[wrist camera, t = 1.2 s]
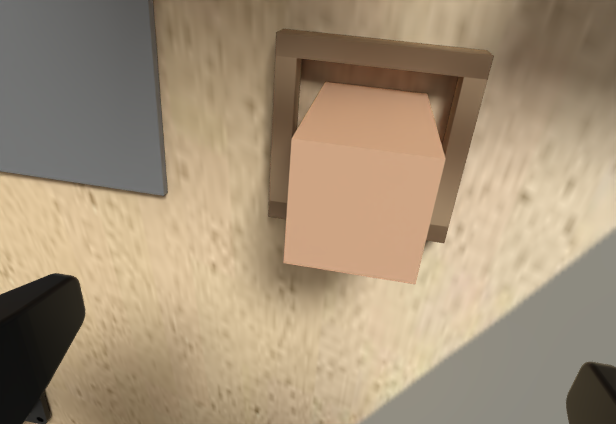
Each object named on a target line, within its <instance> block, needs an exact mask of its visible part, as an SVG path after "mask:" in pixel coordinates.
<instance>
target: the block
mask: <svg viewBox="0 0 616 424" xmlns="http://www.w3.org/2000/svg"><path fill="white" fill-rule="evenodd" d="M445 160H446V159H445V155H444V151H443V148H442V144H441V141H440V137H439V134H438V130H437V127H436V123H435V120H434V116H433V112H432V109H431V105H430V102H429V98H428V95H427V94H426V93H418V92H409V91H401V90H392V89H384V88H375V87H367V86H358V85H350V84H342V83H333V82H325V83H324V85H323V87H322V88H321V90H320V92H319V93H318V95H317V97H316V98H315V100H314V102H313V103H312V105H311V107H310V108H309V110H308V112H307V114H306V115H305V117H304V119H303V120H302V122H301V124H300V125H299V127H298V129H297V130H296V132H295V134H294V135H293V137H292V140H291V155H290V171H289V186H288V201H287V216H286V232H285V247H284V262H283V263H286V264H293V265H299V266H305V267H311V268H317V269H324V270H330V271H336V272H342V273H348V274H355V275H361V276H367V277H373V278H379V279H385V280H392V281H398V282H404V283H410V284H416V280H417V275H418V271H419V267H420V263H421V259H422V255H423V251H424V246H425V242H426V238H427V234H428V230H429V226H430V222H431V217H432V213H433V209H434V205H435V201H436V197H437V193H438V189H439V184H440V180H441V176H442V172H443V168H444V164H445Z"/></svg>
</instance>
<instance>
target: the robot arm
mask: <svg viewBox="0 0 616 424" xmlns="http://www.w3.org/2000/svg"><path fill="white" fill-rule="evenodd" d="M84 318H85V306H84V301H83V296H82V292H81V287H80V283H79V281H78V279H77V278H76V277H74V276H71V275H65V274H59V273H54V274H50V275H48V276H45V277H43V278H40V279H38V280H35V281H33V282H31V283H28V284H26V285H23V286H21V287H18V288H16V289H13V290H11V291H8V292H6V293H3V294H1V295H0V424H23V422H24V421H28V422H33V423H38V424H46V423H47V422H48V421H49V419H50V418H51V415H50V412H49V408H48V405H47V402H46V398H45V395H44V391H45V389H46V388H47V386H48V384H49V383H50V381H51V379H52V377H53V375H54V374H55V372H56V370H57V368H58V366H59V365H60V363H61V361H62V359H63V357H64V356H65V354H66V352H67V350H68V349H69V347H70V345H71V343H72V341H73V340H74V338H75V336H76V334H77V332H78V331H79V329H80V327H81V325H82V323H83V321H84ZM566 409H567V414H568V420H569V424H616V367H614V366H612V365H608V364H602V363H596V362H586V363H584V364H583V365H582V367H581V368H580V370H579V372H578V374H577V376H576V378H575V380H574V382H573V384H572V386H571V388H570V390H569V392H568V395H567V400H566Z"/></svg>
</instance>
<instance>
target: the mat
mask: <svg viewBox="0 0 616 424" xmlns="http://www.w3.org/2000/svg"><path fill="white" fill-rule="evenodd" d="M0 171H2V172H9V173H15V174H22V175H29V176H35V177H42V178H49V179H55V180H62V181H69V182H75V183H82V184H89V185H95V186H102V187H109V188H115V189H122V190H128V191H135V192H142V193H148V194H155V195H162V196H164V195H165V194H166V193H167V192H168V191H167V178H166V165H165V152H164V138H163V125H162V112H161V99H160V86H159V73H158V60H157V47H156V34H155V21H154V7H153V0H0Z"/></svg>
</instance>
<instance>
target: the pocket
mask: <svg viewBox="0 0 616 424" xmlns="http://www.w3.org/2000/svg"><path fill="white" fill-rule="evenodd" d="M493 57H494V56H493V55H492V54H491V53H490V52H489V51H487V50H478V49H468V48H459V47H450V46H440V45H431V44H422V43H412V42H403V41H394V40H384V39H375V38H366V37H356V36H347V35H338V34H328V33H319V32H310V31H300V30H291V29H282V30H280V31H278V32H276V52H275V75H274V98H273V121H272V144H271V167H270V190H269V213H268V217H274V218H281V219H286V216H287V201H288V186H289V171H290V155H291V140H292V137H293V135H294V134H295V132H296V130H297V122H298V108H299V93H300V79H301V65H302V59H309V60H318V61H327V62H336V63H345V64H354V65H362V66H371V67H380V68H389V69H398V70H406V71H415V72H424V73H433V74H442V75H450V76H458V80H457V84H456V89H455V93H454V97H453V102H452V106H451V110H450V114H449V119H448V123H447V127H446V131H445V136H444V140H443V144H442V148H443V151H444V155H445V159H446V160H445V164H444V168H443V172H442V176H441V180H440V184H439V189H438V193H437V197H436V201H435V205H434V209H433V213H432V217H431V222H430V226H429V230H428V234H427V238H426V241H433V242H439V243H444V242H445V238H446V234H447V231H448V227H449V223H450V219H451V215H452V212H453V208H454V204H455V200H456V197H457V193H458V189H459V185H460V182H461V178H462V174H463V170H464V166H465V163H466V159H467V155H468V151H469V148H470V144H471V140H472V136H473V132H474V129H475V125H476V121H477V117H478V114H479V110H480V106H481V102H482V99H483V95H484V91H485V87H486V83H487V80H488V76H489V72H490V68H491V65H492V61H493Z"/></svg>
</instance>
